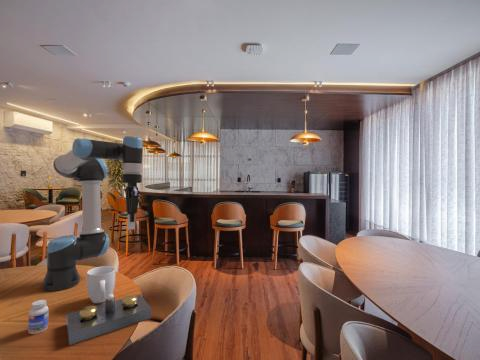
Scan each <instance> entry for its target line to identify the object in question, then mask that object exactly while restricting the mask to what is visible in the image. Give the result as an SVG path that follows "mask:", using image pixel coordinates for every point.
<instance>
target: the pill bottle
mask: <svg viewBox="0 0 480 360" xmlns="http://www.w3.org/2000/svg"><path fill="white" fill-rule="evenodd" d="M48 327H49V307H48V305H47V300H46V299H39V300H36V301H33V302H32V303H31V309H30V310H29V311H28V328H27V329H28V330H27V331H28V332H27V333H28V334H31V335H36V334H40V333H42V332H45V331H46V330H47V329H48Z"/></svg>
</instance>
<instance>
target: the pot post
mask: <svg viewBox="0 0 480 360" xmlns="http://www.w3.org/2000/svg"><path fill="white" fill-rule="evenodd" d="M115 301H116V297H115V296H114V293H112V294H108V295H107V299H106V300H105V302H104V304H105V313H112V312H114V311H115Z"/></svg>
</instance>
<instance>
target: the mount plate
mask: <svg viewBox="0 0 480 360" xmlns="http://www.w3.org/2000/svg"><path fill="white" fill-rule="evenodd" d="M135 296H137V304H136V305H135V306H134V307H133V308H130V309H126V308H124V307H123V298H121V299H117V300H115V311H114V312H112V313H105V303H100V304H99V305H95V306H96V307H97V315H96V316H95V317H94V318H93V319H92V320H89V321H85V322H84V320H80V310H81V309H79V310H75V311H72V312H68V313H66V331H67V337H68V338H67V339H68V346H69V347H70V346H72V345H76V344H78V343H82V342H84V341H87V340H90V339H94V338H97V337H99V336H103V335H106V334H108V333H111V332H114V331H117V330H121V329H123V328H124V329H125V328H126V327H129V326H132V325H136V324H138V322H139V323H142V322H145V321H148V320H151V319H152V307H151V306H150V305H149V304H148V302H147V301H146V300H145V298H144V296H142V294H136V295H135Z"/></svg>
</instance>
